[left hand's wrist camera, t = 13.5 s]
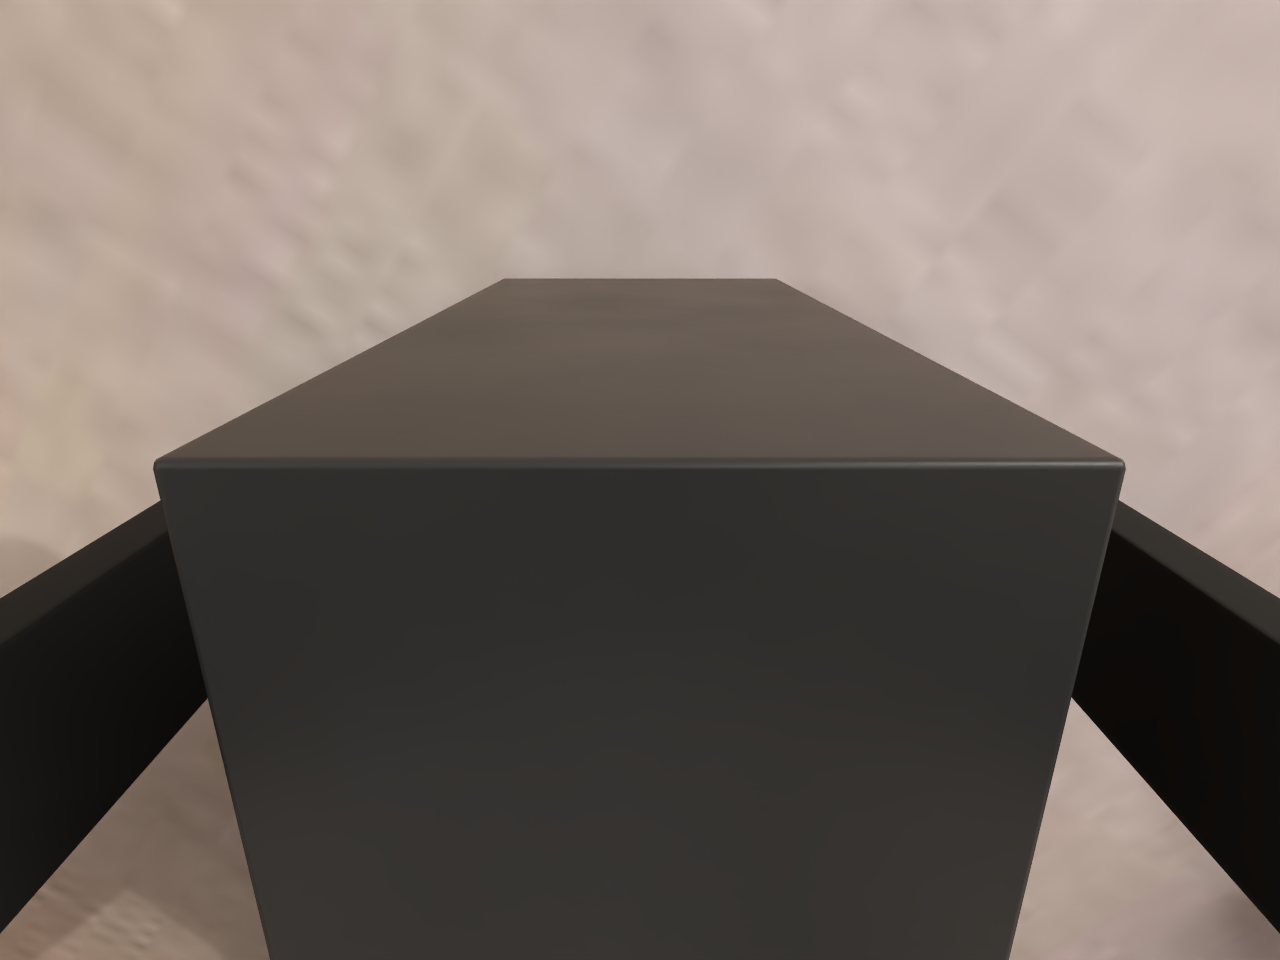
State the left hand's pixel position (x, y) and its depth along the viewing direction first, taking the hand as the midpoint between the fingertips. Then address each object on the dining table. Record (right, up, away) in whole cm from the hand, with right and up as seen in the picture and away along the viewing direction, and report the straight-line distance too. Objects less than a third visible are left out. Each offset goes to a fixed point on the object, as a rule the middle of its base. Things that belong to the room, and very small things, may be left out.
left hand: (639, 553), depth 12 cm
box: (0, -6, +9) cm, 11 cm away
